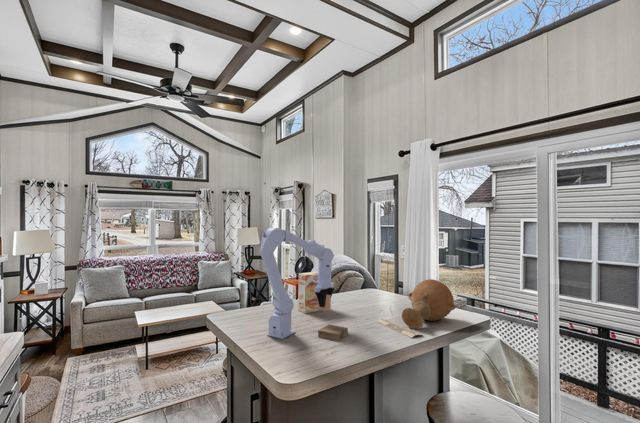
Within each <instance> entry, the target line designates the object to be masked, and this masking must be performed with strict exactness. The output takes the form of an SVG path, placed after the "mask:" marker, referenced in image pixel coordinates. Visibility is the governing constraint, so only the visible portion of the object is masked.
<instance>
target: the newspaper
mask: <svg viewBox="0 0 640 423" xmlns="http://www.w3.org/2000/svg"><path fill="white" fill-rule="evenodd" d="M377 323H379V324H381V325H382V326H385V327H386V328H387V327H388V329H389V328H390V329H391V330H394V331H395V332H398V333H400V334H401V335H404V336H406V337H407V338H409V339H413V337H416V336H420V337H424V335H423V334H421V333H419V332H417V331H414V330H412V329H411V328H408V327H405V326H403V325H401V324H399V323H397V322H394V321H392V320H390V319H388V318H381V319H378V320H377Z"/></svg>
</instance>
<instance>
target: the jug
mask: <svg viewBox="0 0 640 423" xmlns="http://www.w3.org/2000/svg"><path fill="white" fill-rule="evenodd" d="M407 298H408V300H410V303H411V307H407V308H405V309H403V310H402V312H401V318H402V321H403V323H405V325H406V326H407V327H409V329H415V330H417V329H421V328H422V327H423V326H424V323H425V321H430V322H434V321H440V320H441V319H443V318H445V317H447V316H449V314H450V313H451V312H452V311H454V310H455V309H456V304H455V300H454V296H453V294H452V291H451V290H450V288H449V287H448V286H447V285H446V284H444V283H443V282H442V281H439V280H436V279H429V278H428V279H424V280H422V281H420V282H419V283H418V284H417V285H416V286H415V287H414V289H413V291H412V292H410V293H409V294H408V296H407Z"/></svg>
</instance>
